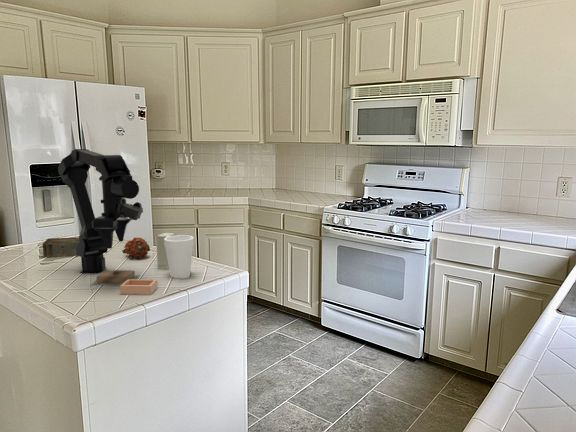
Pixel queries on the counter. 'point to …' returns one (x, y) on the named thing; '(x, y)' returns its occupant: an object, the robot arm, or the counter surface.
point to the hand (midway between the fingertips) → (115, 244)
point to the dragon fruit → (136, 248)
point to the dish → (138, 287)
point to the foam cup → (179, 255)
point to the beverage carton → (60, 247)
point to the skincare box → (162, 251)
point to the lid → (115, 276)
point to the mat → (112, 283)
